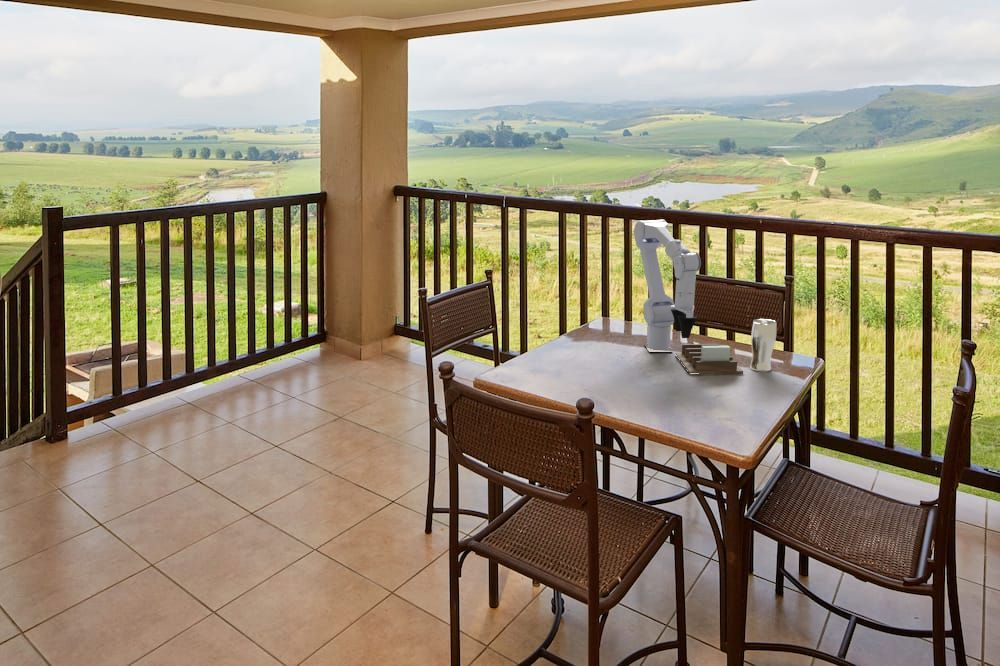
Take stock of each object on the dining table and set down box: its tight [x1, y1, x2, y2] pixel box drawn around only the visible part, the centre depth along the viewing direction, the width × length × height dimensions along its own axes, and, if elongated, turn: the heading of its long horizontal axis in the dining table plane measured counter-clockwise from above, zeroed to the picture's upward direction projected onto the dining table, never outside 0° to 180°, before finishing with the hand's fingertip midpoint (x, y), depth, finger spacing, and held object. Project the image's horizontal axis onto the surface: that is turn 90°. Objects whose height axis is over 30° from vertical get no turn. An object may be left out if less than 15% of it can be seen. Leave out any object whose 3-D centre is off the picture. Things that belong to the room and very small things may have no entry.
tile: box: [700, 345, 731, 361], centre depth 196 cm, size 2×8×7 cm, turn 89°
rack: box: [675, 343, 744, 375], centre depth 203 cm, size 18×16×4 cm
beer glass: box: [749, 318, 778, 373], centre depth 197 cm, size 7×7×15 cm
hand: (682, 334), depth 203 cm, fingers open, 7 cm apart
